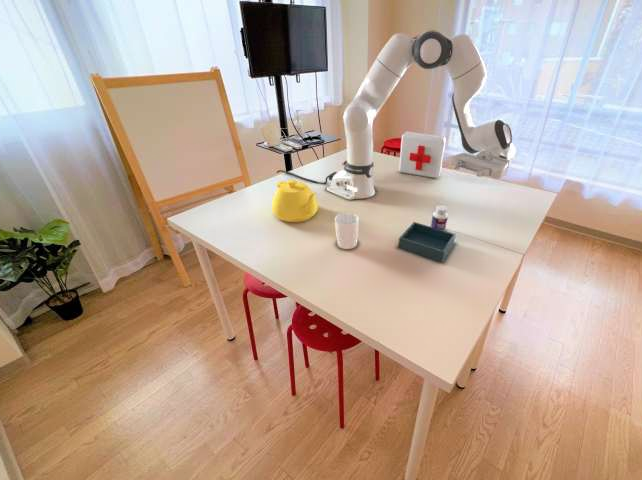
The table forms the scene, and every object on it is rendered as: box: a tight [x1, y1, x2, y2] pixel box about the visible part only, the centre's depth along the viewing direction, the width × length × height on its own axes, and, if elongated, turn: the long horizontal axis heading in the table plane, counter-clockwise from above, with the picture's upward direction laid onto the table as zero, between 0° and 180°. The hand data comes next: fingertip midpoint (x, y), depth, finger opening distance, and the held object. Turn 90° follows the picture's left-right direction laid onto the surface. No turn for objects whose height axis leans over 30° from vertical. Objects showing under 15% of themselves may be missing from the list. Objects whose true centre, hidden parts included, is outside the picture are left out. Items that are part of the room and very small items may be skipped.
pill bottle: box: [430, 204, 449, 231], centre depth 112 cm, size 5×5×10 cm
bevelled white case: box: [398, 131, 447, 180], centre depth 154 cm, size 21×8×20 cm, turn 68°
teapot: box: [271, 179, 319, 223], centre depth 118 cm, size 25×18×14 cm
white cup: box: [334, 212, 360, 250], centre depth 103 cm, size 8×8×10 cm
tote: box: [397, 221, 457, 263], centre depth 105 cm, size 16×13×4 cm
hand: (466, 170), depth 109 cm, fingers open, 8 cm apart
